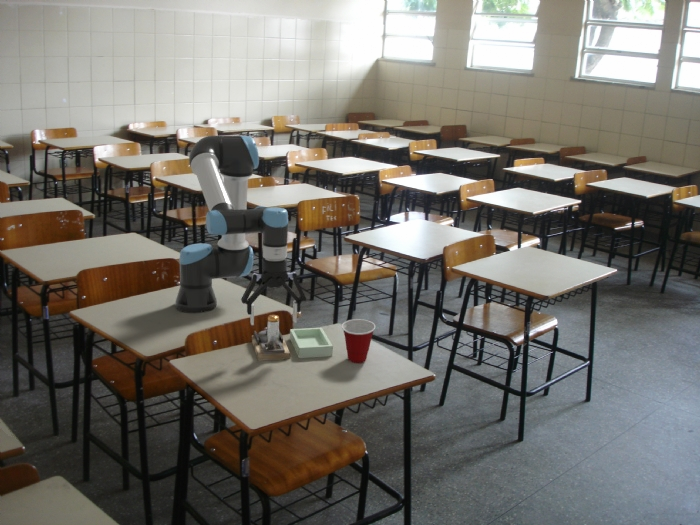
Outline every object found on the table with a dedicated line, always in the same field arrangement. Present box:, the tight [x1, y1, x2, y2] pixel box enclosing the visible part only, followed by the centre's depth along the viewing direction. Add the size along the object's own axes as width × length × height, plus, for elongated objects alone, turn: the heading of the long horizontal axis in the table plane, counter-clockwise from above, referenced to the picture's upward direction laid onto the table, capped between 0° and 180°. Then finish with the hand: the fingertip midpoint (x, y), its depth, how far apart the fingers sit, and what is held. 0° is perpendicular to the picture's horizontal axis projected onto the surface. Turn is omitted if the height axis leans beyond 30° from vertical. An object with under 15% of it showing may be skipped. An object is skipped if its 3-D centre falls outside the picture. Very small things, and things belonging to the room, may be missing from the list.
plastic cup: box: [341, 318, 376, 364], centre depth 226 cm, size 11×11×12 cm
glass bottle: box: [266, 314, 280, 350], centre depth 225 cm, size 4×4×11 cm
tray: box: [289, 327, 334, 359], centre depth 235 cm, size 16×11×4 cm
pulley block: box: [251, 329, 291, 362], centre depth 231 cm, size 16×10×5 cm, turn 15°
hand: (273, 322), depth 224 cm, fingers open, 13 cm apart
